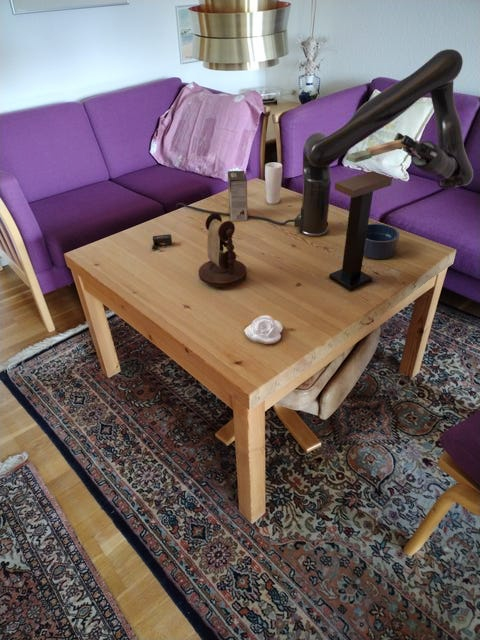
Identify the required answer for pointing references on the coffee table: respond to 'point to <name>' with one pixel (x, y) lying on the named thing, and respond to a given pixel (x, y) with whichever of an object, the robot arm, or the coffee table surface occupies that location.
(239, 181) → the coffee box
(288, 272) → the coffee table surface
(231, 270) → the scroll
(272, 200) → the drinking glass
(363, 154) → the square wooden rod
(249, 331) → the rose
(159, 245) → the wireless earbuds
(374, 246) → the bowl
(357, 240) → the headphone stand
